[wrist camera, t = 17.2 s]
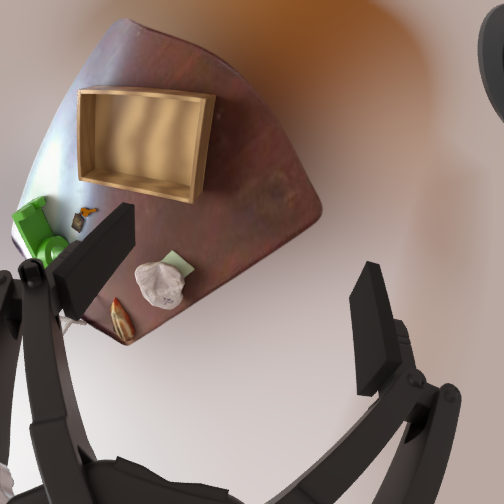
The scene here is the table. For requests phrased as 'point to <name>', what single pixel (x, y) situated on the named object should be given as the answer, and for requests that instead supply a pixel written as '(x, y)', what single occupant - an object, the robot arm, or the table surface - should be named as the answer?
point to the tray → (144, 139)
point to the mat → (178, 263)
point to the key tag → (78, 220)
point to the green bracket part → (38, 232)
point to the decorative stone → (121, 321)
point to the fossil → (160, 284)
